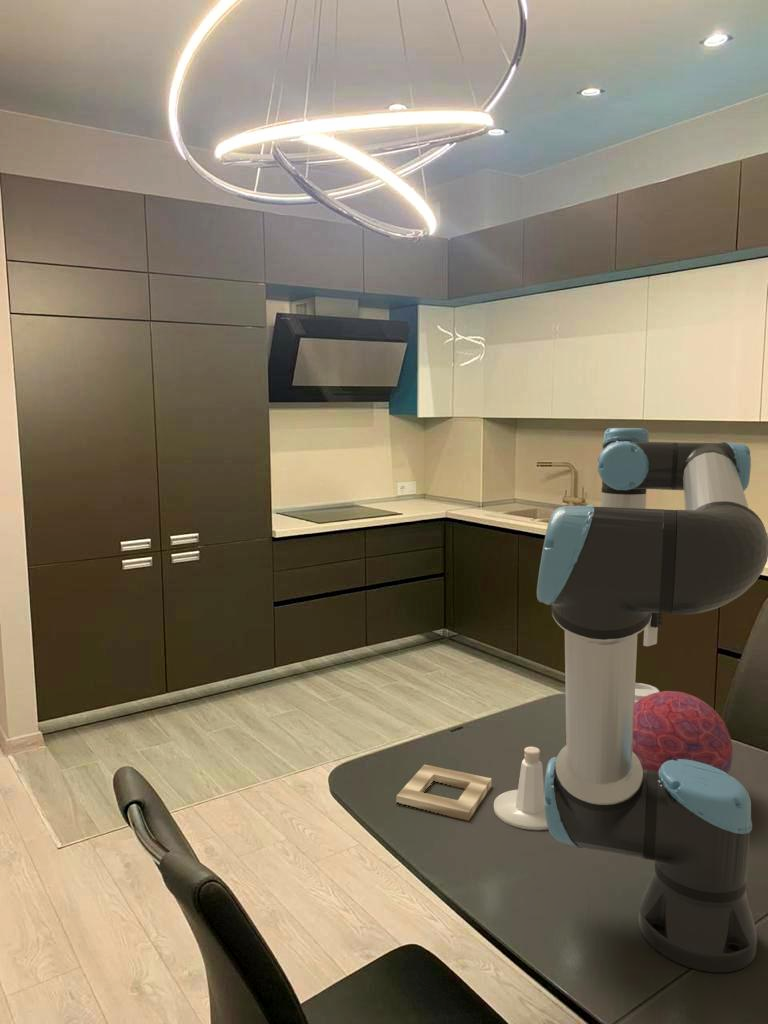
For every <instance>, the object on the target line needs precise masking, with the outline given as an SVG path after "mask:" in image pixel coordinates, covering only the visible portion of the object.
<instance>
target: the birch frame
mask: <svg viewBox="0 0 768 1024" xmlns="http://www.w3.org/2000/svg"><path fill="white" fill-rule="evenodd" d="M433 781H435V782H439V783H438V784H440V783H443V784H442V785H445V784H447V785H446V786H449V785H451V786H450V787H455V788H459V789H464V791H463V792H462V793H461V795H460V796H459V798H458V799H454V798H449V797H443V796H440V795H436V794H431V793H428V792H425V790H426V789H427V788H428V787H429V786H430V785H431V786H432V784H433V783H435V782H433ZM432 782H433V783H432ZM431 783H432V784H431ZM492 784H493V783H492V778H491V777H486V776H481V775H477V774H472V773H468V772H463V771H458V770H454V769H448V768H443V767H440V766H434V765H429V764H423V765H422V766H421V768H420V769H418V771H417V772H416V773H415V774H414V776H413V777H412V778H411V779H409V781H408V782H407V783H406V784H405V786H403V788H402V789H401V790H400V791H399V792H398V793H397V795H396V801H395V802H399V803H402V804H406V805H410V806H413V807H417V808H420V809H424V810H423V811H425V810H428V811H427V812H429V811H431V812H430V813H433V812H434V814H437V813H439V814H438V815H442V814H443V815H442V816H446V815H447V817H451V818H455V819H459V820H463V821H467V822H468V821H470V819H471V818H472V816H473V815H474V814H475V812H476V810H477V809H478V807H480V804H481V803H482V801H483V800H484V798H485V797H486V795H487V794H488V792H489V791H490V789H491V788H492ZM431 786H430V787H431ZM430 787H429V788H430ZM429 788H428V789H429ZM428 789H427V790H428ZM427 790H426V791H427ZM424 792H425V793H424ZM420 809H419V810H420Z"/></svg>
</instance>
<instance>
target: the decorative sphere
mask: <svg viewBox="0 0 768 1024" xmlns="http://www.w3.org/2000/svg"><path fill="white" fill-rule="evenodd" d="M632 751H633V752H634V754H635V755H636V756H637V757H638V759H639V761H640V763H641V766H642V769H643V770H647V771H655V772H659V768H661V766H662V764H663V763H664V762H666V761H669V760H675V761H677V760H678V759H685V760H692V761H696V762H700V763H704V764H707V765H710V766H713V767H715V768H718V769H720V770H722V771H724V772H726V773H727V774H729V772H730V770H731V766H732V762H733V742H732V737H731V735H730V731H729V729H728V727H727V725H726V722H724V720H723V719H722V717H721V716H720V715H719V714H718V712H717V711H716V710H715V709H714V708H713V707H712V706H711V705H709V704H708V703H706V701H704V700H702V699H700V698H699V697H696V696H694V695H692V694H689V693H686V692H683V691H677V690H676V691H675V690H663V691H659V692H656V693H653V694H650V695H648V696H646V697H644V698H642V699H640V700H639V701H638V702H636V703H635V704H634V723H633V746H632Z"/></svg>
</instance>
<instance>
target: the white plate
mask: <svg viewBox="0 0 768 1024" xmlns="http://www.w3.org/2000/svg"><path fill="white" fill-rule="evenodd" d="M517 793H518V789H511V790H508V791H504V792H503V793H501V794H499V795H498V796H496V797H495V799H494V801H493V812H494V814H495V815H496V816H497V818H498V819H499V820H501V821H503V823H505V824H507V825H509V826H511V827H514V828H519V829H521V830H528V831H546V830H547V831H548V830H549V829H548V825H547V821H546V815H545V808H544V811H543V812H540V813H536V814H530V813H524V812H522V811H521V810H519V809H518V808H517V807H516V800H517ZM544 797H545V795H544Z"/></svg>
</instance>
